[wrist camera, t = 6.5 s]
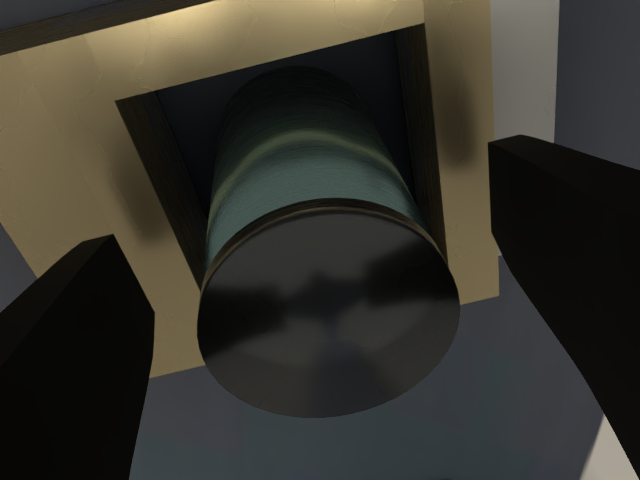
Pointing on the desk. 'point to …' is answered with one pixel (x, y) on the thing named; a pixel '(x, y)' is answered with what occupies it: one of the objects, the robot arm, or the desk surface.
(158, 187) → the upper end link
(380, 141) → the teal cylinder
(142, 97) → the lower end link
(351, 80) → the desk surface
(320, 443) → the desk surface
